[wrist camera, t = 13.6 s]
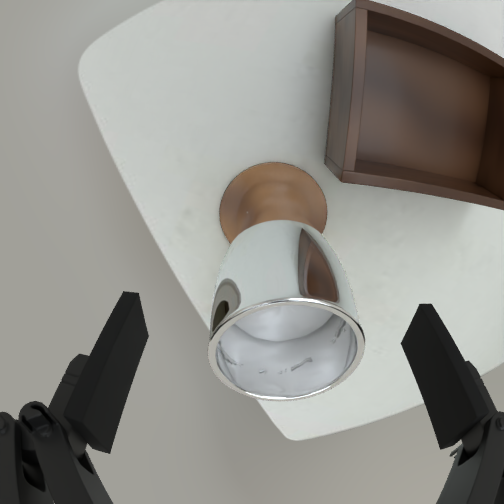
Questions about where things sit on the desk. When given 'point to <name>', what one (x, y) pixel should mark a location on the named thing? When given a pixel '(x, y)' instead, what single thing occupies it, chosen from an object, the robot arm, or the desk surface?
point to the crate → (415, 107)
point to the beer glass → (282, 304)
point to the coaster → (265, 175)
